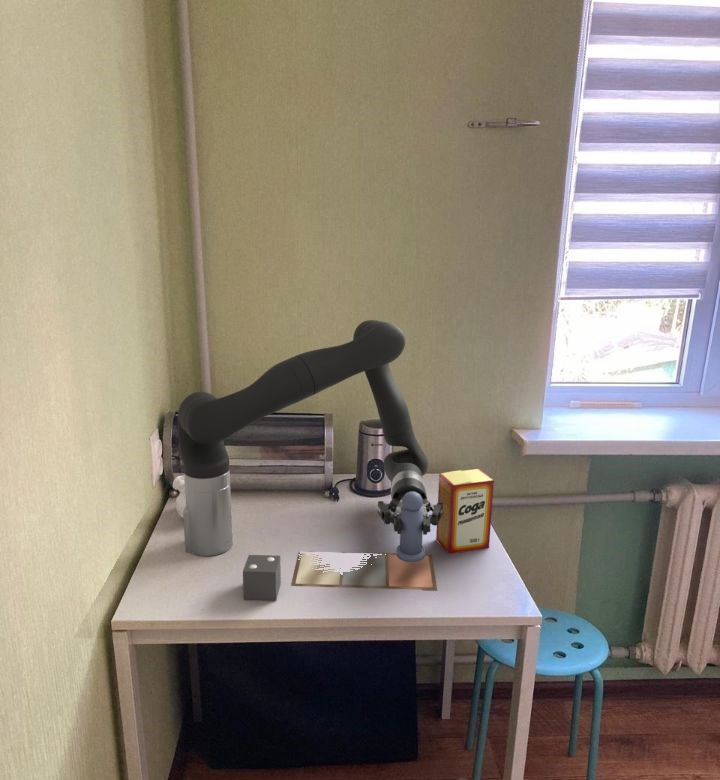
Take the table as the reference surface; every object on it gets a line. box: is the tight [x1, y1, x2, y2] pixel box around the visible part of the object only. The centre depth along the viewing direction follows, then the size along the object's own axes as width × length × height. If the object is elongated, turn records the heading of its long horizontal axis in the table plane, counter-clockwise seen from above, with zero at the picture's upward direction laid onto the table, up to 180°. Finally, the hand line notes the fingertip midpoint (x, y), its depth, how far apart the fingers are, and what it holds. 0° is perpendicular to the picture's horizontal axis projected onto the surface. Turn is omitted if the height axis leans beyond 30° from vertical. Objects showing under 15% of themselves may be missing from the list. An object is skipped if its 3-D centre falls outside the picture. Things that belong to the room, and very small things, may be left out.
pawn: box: [396, 491, 426, 562], centre depth 131 cm, size 6×6×14 cm
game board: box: [290, 552, 438, 591], centre depth 133 cm, size 28×14×1 cm, turn 89°
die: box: [242, 554, 282, 602], centre depth 124 cm, size 6×6×6 cm
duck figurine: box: [172, 474, 186, 519], centre depth 154 cm, size 12×8×11 cm
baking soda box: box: [435, 468, 495, 555], centre depth 142 cm, size 10×6×16 cm
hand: (412, 529), depth 128 cm, fingers closed on pawn, 4 cm apart
